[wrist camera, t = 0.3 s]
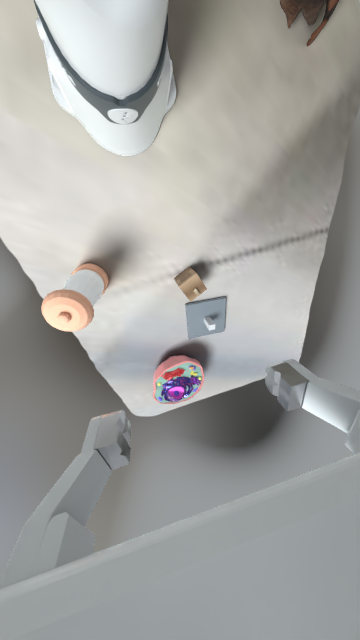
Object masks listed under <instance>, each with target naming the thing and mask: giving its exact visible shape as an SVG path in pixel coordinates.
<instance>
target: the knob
mask: <svg viewBox="0 0 360 640" xmlns="http://www.w3.org/2000/svg"><path fill="white" fill-rule="evenodd" d="M174 279H175V281H176V283H177V284H178V286H179V287H180V289H181V290H182V291H183V293H184V294H185V295H186V296H187V298H188V299H189V300H190V302H191V301H192V300H193V299H195V298H196V297H197V296H199V295H200V294H201V293H203V292H204V291H205V290H207V288H206V287H205V285H204V284H203V282H202V281H201V279H200V278H199V276H198V275H197V273H196V272H195V271H194V270H193V269H192V268H191V267H188V268H187V269H185V270H184V271H183V272H182V273H180V274H179V275H178V276H177V277H175V278H174Z"/></svg>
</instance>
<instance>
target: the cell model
mask: <svg viewBox="0 0 360 640" xmlns="http://www.w3.org/2000/svg"><path fill="white" fill-rule="evenodd" d="M203 382H204V373H203V369H202V366H201V364H200V362H199V361H198V360H196V359H193V358H190V357H187V356H185V355H179V356H171V357H169V358H168V359H167V360H166V361H164V362H162V363H161V364H160V365H159V366H158V368H157V369H156V371H155V372H154V375H153V398H154V399H155V400H156V401H157V402H159V403H163V404H175V403H179V402H182V401H186V400H189V399H190V398H192V397H193V396H194V395H195V394H196V393H197V392H198V391H200V389H201V387H202V385H203Z"/></svg>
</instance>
